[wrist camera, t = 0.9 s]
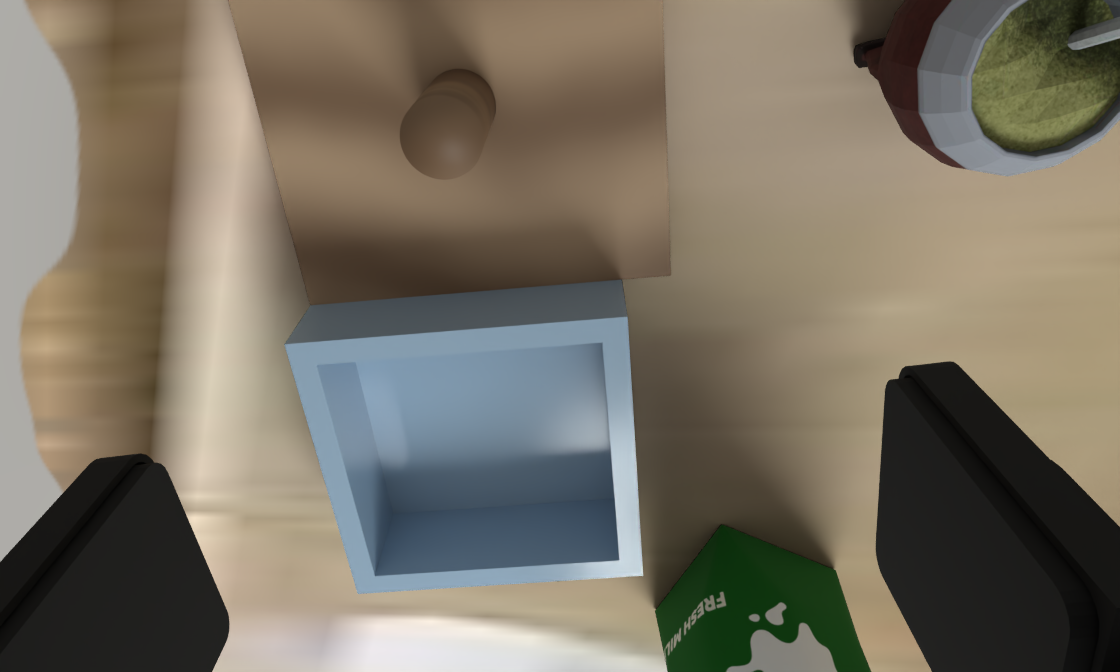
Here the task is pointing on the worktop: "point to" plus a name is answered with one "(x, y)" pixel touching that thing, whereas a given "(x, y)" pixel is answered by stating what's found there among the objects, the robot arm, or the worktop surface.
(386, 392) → the dish
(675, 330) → the worktop surface
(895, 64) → the mate gourd
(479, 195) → the lid
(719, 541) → the milk carton
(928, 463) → the robot arm
